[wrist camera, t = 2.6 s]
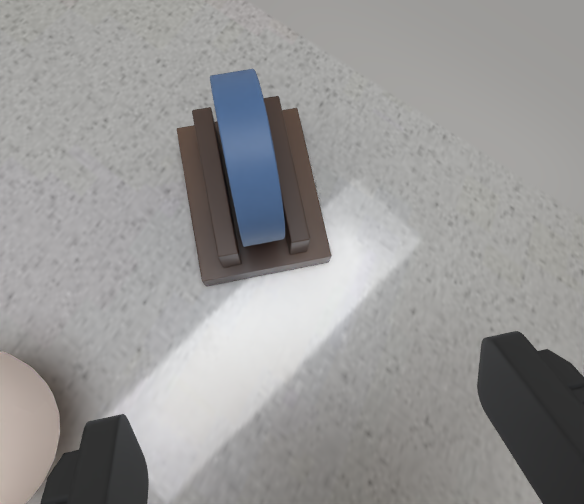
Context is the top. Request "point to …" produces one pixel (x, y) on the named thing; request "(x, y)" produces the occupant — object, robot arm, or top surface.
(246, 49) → the top surface
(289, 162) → the rack
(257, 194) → the disc
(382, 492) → the top surface
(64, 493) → the robot arm
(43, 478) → the egg
